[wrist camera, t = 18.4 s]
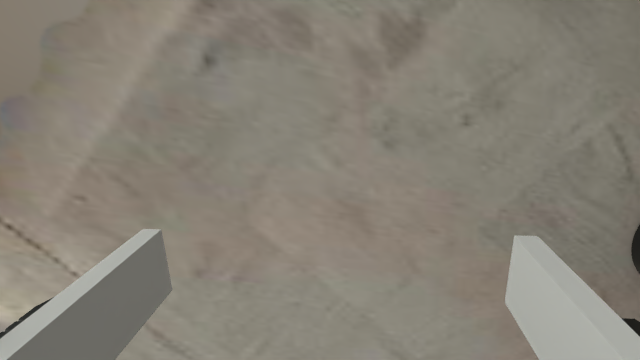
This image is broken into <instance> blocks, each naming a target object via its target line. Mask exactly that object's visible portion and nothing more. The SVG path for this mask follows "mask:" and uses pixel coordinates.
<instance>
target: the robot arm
mask: <svg viewBox="0 0 640 360" xmlns="http://www.w3.org/2000/svg"><path fill="white" fill-rule="evenodd" d="M632 258H633V262H634V265H635V267H636V269H637V271H638V272H639V273H640V225H639V227H638V229H637V231H636V233H635V236H634V239H633V243H632ZM171 291H172V285H171V279H170V274H169V269H168V263H167V258H166V252H165V247H164V241H163V236H162V231H161V229H142V230H141V231H140V232H139V233H137V234H136V235H135V236H133V237H132V238H131V239H129V240H128V241H127V242H126V243H124V244H123V245H122V246H120V247H119V248H118V249H116V250H115V251H114V252H112V253H111V254H110V255H109V256H107V257H106V258H105V259H103V260H102V261H101V262H99V263H98V264H97V265H96V266H94V267H93V268H92V269H90V270H89V271H88V272H86V273H85V274H84V275H83V276H81V277H80V278H79V279H77V280H76V281H75V282H73V283H72V284H71V285H70V286H68V287H67V288H66V289H64V290H63V291H62V292H60V293H59V294H58V295H57V296H55V297H53V298H51V299H49V300H47V301H45V302H44V303H42V304H40V305H38V306H36V307H34V308H33V309H32V310H30V311H29V312H28V313H26V314H25V315H24V316H22V317H21V318H20V319H19V321H16V322H14V323H13V324H12V325H10V326H9V327H8V328H6V330H5V332H1V333H0V360H115V359H116V358H117V356H118V355H119V354H120V353H121V352H122V350H123V349H124V348H125V347H126V345H127V344H128V343H129V342H130V341H131V339H132V338H133V337H134V336H135V335H136V333H137V332H138V331H139V330H140V329H141V327H142V326H143V325H144V324H145V322H146V321H147V320H148V319H149V318H150V316H151V315H152V314H153V313H154V312H155V310H156V309H157V308H158V307H159V306H160V304H161V303H162V302H163V301H164V299H165V298H166V297H167V296H168V295H169V293H170V292H171ZM505 304H506V305H507V307H508V309H509V310H510V312H511V314H512V315H513V317H514V319H515V320H516V322H517V324H518V325H519V327H520V329H521V330H522V332H523V334H524V335H525V337H526V339H527V340H528V342H529V344H530V345H531V347H532V349H533V350H534V352H535V354H536V355H537V357H538V359H539V360H640V322H639V321H637V320H635V319H623V318H620V317H619V316H618V315H617V314H616V313H615V312H614V311H613V310H612V309H611V308H610V307H609V306H608V305H607V304H606V303H605V302H604V301H603V300H602V299H601V298H600V297H599V296H598V295H597V294H596V293H595V292H594V291H593V290H592V289H591V288H590V287H589V286H588V285H587V284H586V283H585V282H584V281H583V280H582V279H581V278H580V277H579V276H578V275H577V274H576V273H575V272H573V271H572V270H571V269H570V268H569V267H568V266H567V265H566V264H565V263H564V262H563V261H562V260H561V259H560V258H559V257H558V256H557V255H556V254H555V253H554V252H553V251H552V250H551V249H550V248H549V247H548V246H547V245H546V244H545V243H544V242H543V241H542V240H541V239H540V238H539V237H538V236H514V242H513V249H512V255H511V262H510V269H509V276H508V283H507V290H506V296H505Z"/></svg>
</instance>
